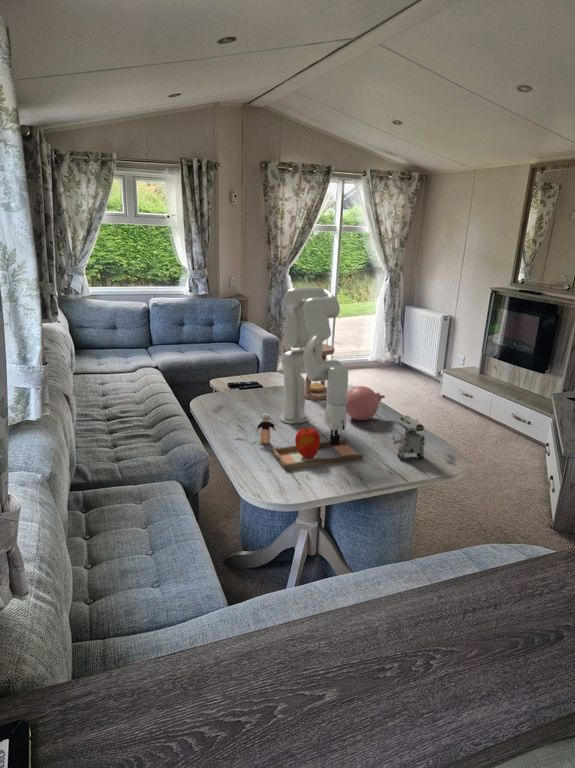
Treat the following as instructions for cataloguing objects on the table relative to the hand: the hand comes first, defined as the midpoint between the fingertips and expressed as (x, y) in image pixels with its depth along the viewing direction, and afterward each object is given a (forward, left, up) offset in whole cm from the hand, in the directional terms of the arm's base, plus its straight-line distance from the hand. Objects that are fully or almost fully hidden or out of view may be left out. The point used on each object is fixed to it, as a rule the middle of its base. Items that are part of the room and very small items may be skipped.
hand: (334, 444), depth 201 cm
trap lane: (0, -7, -4) cm, 8 cm away
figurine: (+10, +26, -4) cm, 29 cm away
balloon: (-31, +29, -4) cm, 43 cm away
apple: (0, -10, -4) cm, 11 cm away
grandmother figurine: (-18, -22, -4) cm, 28 cm away
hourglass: (-70, +21, -4) cm, 73 cm away
